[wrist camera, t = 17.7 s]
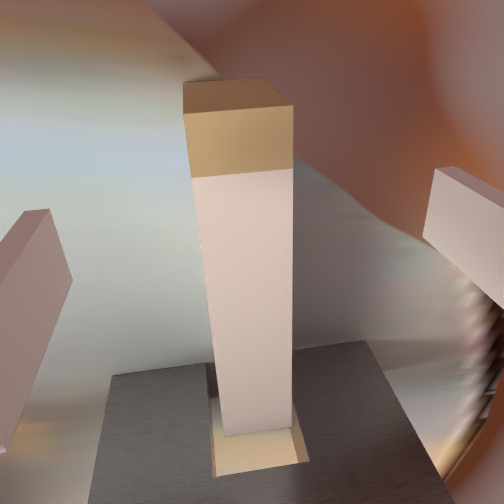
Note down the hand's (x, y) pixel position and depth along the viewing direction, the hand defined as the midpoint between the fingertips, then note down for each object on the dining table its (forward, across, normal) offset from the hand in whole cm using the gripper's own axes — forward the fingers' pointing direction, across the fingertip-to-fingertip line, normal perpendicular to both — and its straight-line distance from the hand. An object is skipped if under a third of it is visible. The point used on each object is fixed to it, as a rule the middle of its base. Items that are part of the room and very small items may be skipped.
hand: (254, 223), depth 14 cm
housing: (+16, +1, -24) cm, 29 cm away
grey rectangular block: (+16, +1, -9) cm, 18 cm away
